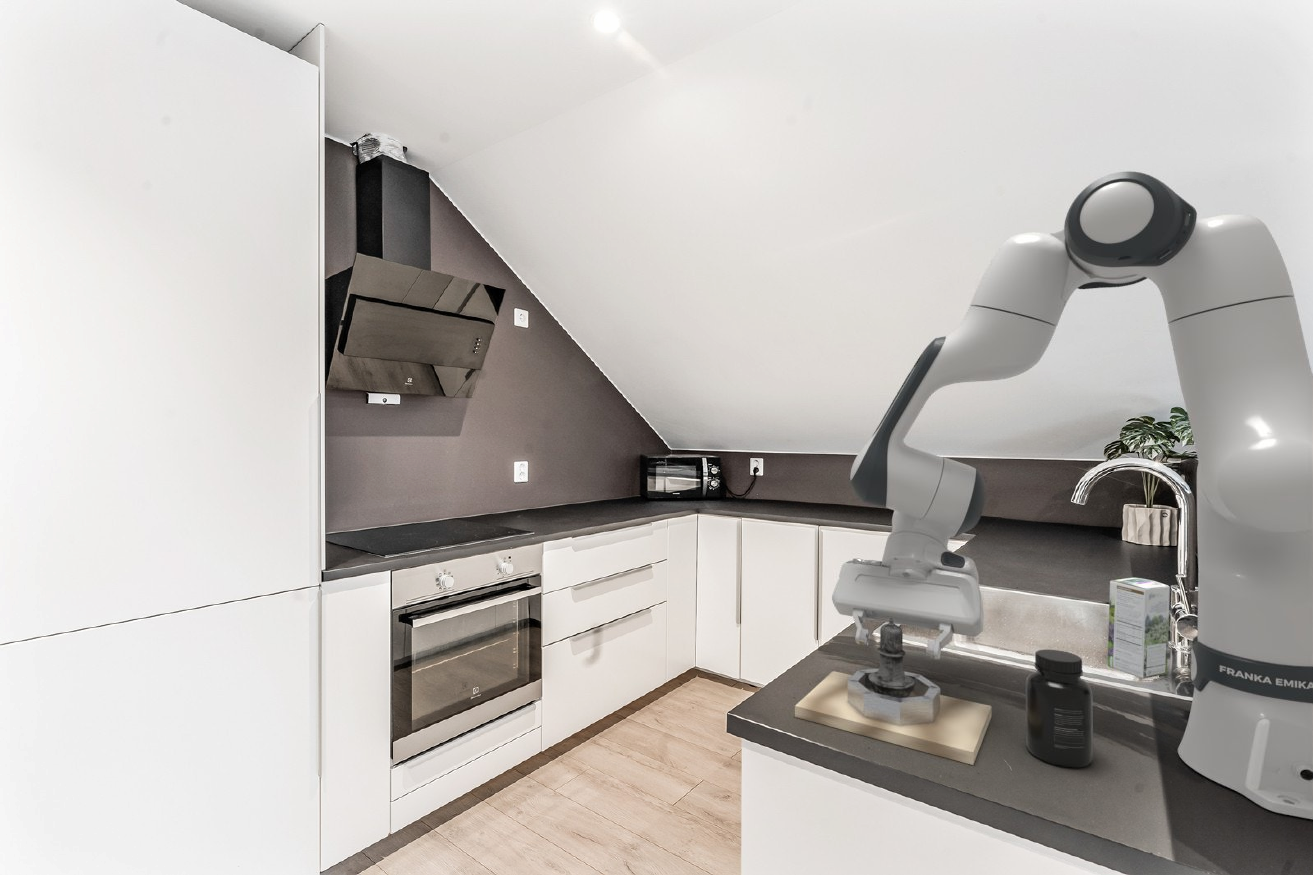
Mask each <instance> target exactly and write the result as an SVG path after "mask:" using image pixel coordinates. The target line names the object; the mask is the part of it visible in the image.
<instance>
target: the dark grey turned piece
mask: <svg viewBox="0 0 1313 875" xmlns="http://www.w3.org/2000/svg"><path fill="white" fill-rule="evenodd" d="M889 621H890V623H889V622H887V623H885V624H882V626H881V627H880V628H879V629H880V631H879V633H880V634H879V636H880V637H879V644H880V646H879V647H878V648H877V650H876V651H877V653H878V654H879V665H878V668H877V669H878V671H877V672H873V673H871V674H870V675H869V680H870V681H871V686H872V689H873V691H874V692H875V693H878V694H882V695H886V696H891V697H895V698H907V697H908V696H909V695H910V693H911V691H912V686H913V685H914V680H913V679H912V678H911V677H909V676H907V675H905V674H904V671H905V670H904V656H906V651H905V650H904V649H903V644H904V643H903V639H904V638H903V629H902V628H901V626H899V625H898V624H895V623H893V622H894V620H893V619H892V618H890V620H889Z"/></svg>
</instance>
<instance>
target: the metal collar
mask: <svg viewBox="0 0 1313 875" xmlns="http://www.w3.org/2000/svg"><path fill="white" fill-rule="evenodd" d="M878 669H879V668H869V669H857V671H855V673H853V676H852V677H851V678H850V679H849V680H848V703H849V704H850V705H851V706H852V707H854V708H855V709H856V710H857V711H858V712H859V713H860V714H861V715H862V716H864V717H867V718H871V719H874V720H878V721H882V722H886V723H890V724H894V725H898V726H906V725H917V724H927V723H933V722H934V720H935V718H936V716H937V715H938V713H939V711H940V695H941V687H940V686H938V685H937V684H936V683H934V682H932V681H931V680H930V679H928V678H926V677H924V676H923V675H922V674H918V673H915V672H909V671H905V670H904V674H905V675H907V676H909V677H911V678H912V679H913V680H914V685H913V686H912V691H911V693H910V695H909V696H908V698H895V697H891V696H886V695H882V694H878V693H875V692H874V691H873V689H872V686H871V681H870V680H869V675H870V674H871V673H873V672H877V671H878Z"/></svg>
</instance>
